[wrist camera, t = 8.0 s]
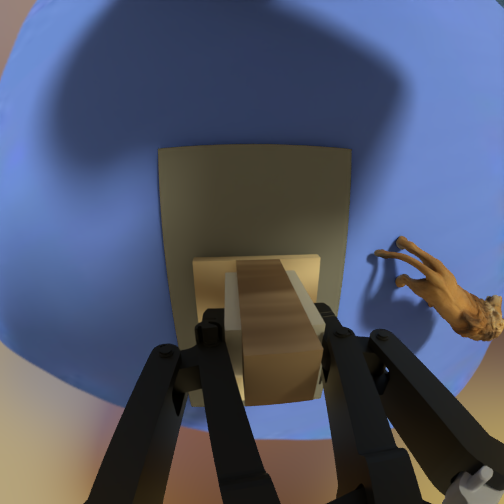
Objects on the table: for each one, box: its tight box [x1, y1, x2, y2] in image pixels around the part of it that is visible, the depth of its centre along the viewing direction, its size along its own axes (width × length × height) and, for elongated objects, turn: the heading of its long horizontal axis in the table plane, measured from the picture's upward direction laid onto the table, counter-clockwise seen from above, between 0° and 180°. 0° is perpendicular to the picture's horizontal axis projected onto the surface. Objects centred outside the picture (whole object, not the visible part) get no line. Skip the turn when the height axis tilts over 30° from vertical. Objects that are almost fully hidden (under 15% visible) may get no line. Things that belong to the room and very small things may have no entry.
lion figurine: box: [374, 236, 504, 341], centre depth 19 cm, size 15×5×9 cm, turn 67°
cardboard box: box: [193, 254, 323, 406], centre depth 16 cm, size 6×9×11 cm, turn 90°
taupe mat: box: [158, 144, 352, 407], centre depth 22 cm, size 25×14×1 cm, turn 0°
